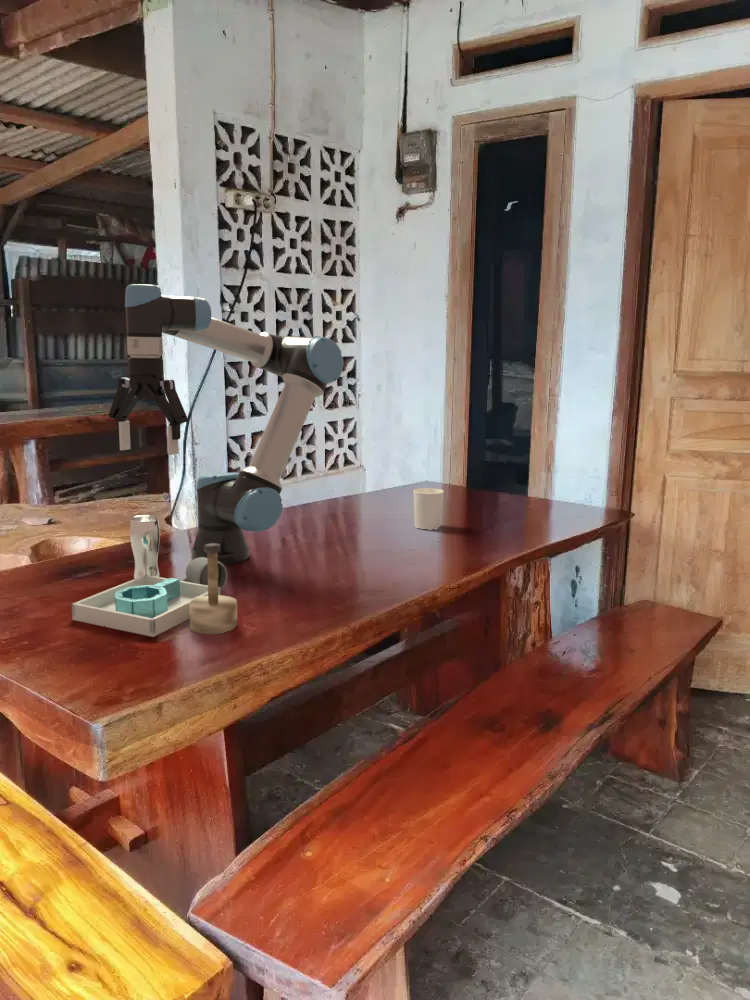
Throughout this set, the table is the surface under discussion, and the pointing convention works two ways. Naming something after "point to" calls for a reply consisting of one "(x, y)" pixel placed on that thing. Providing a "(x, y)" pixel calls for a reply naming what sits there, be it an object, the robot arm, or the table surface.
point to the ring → (147, 598)
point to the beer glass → (145, 544)
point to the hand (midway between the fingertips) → (148, 452)
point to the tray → (104, 614)
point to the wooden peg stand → (213, 602)
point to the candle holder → (428, 507)
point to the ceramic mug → (204, 572)
